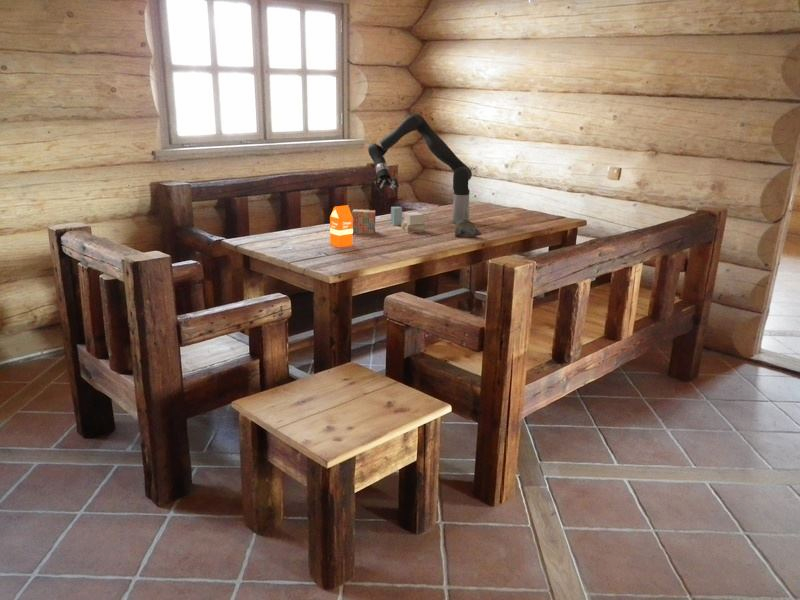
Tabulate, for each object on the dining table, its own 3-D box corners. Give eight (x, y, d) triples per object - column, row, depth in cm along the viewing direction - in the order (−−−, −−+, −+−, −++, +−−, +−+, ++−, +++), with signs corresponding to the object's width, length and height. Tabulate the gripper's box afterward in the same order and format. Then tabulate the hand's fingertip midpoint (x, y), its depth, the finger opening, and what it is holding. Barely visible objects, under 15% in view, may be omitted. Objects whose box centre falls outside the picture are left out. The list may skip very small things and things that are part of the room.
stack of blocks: (335, 232, 376) (335, 210, 372) (337, 230, 382) (337, 208, 378) (374, 234, 374) (374, 212, 371) (375, 231, 380) (375, 210, 377)
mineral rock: (482, 238, 371) (483, 219, 368) (468, 240, 364) (469, 222, 361) (465, 233, 380) (465, 216, 377) (451, 236, 373) (452, 218, 370)
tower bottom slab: (401, 230, 387) (401, 221, 386) (417, 229, 391) (417, 220, 389) (408, 233, 379) (408, 224, 377) (424, 232, 382) (424, 223, 381)
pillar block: (390, 223, 402) (391, 206, 399) (398, 223, 404) (399, 206, 401) (393, 225, 397) (394, 208, 394) (401, 224, 399) (402, 208, 396)
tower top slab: (404, 221, 386) (404, 212, 384) (417, 220, 388) (417, 212, 387) (409, 224, 379) (409, 215, 377) (422, 223, 381) (423, 214, 380)
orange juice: (353, 244, 349) (353, 206, 343) (339, 247, 343) (338, 207, 337) (343, 242, 355) (343, 203, 348) (329, 244, 349) (329, 205, 343)
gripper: (373, 168, 407) (379, 190, 400) (395, 168, 412) (402, 190, 405) (370, 176, 413) (376, 198, 407) (392, 175, 418) (398, 197, 412)
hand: (389, 194), depth 406 cm, fingers open, 8 cm apart
